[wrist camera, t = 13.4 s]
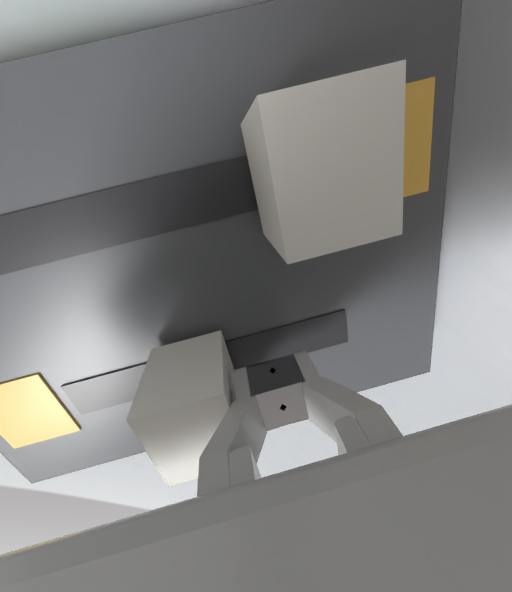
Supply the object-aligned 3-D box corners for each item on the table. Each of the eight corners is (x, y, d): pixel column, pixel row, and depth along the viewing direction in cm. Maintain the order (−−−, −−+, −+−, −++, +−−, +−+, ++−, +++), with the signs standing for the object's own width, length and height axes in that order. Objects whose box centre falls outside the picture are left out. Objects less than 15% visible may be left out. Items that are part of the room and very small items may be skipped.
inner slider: (240, 124, 8) (257, 94, 5) (332, 101, 8) (405, 58, 5) (263, 234, 10) (287, 264, 7) (341, 213, 10) (402, 234, 7)
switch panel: (-214, 144, 9) (-330, 136, 7) (418, -4, 10) (468, -47, 8) (52, 448, 16) (30, 485, 14) (406, 350, 17) (431, 372, 15)
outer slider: (151, 348, 11) (126, 420, 8) (221, 330, 11) (223, 393, 8) (180, 406, 13) (168, 486, 10) (241, 390, 13) (250, 463, 10)
